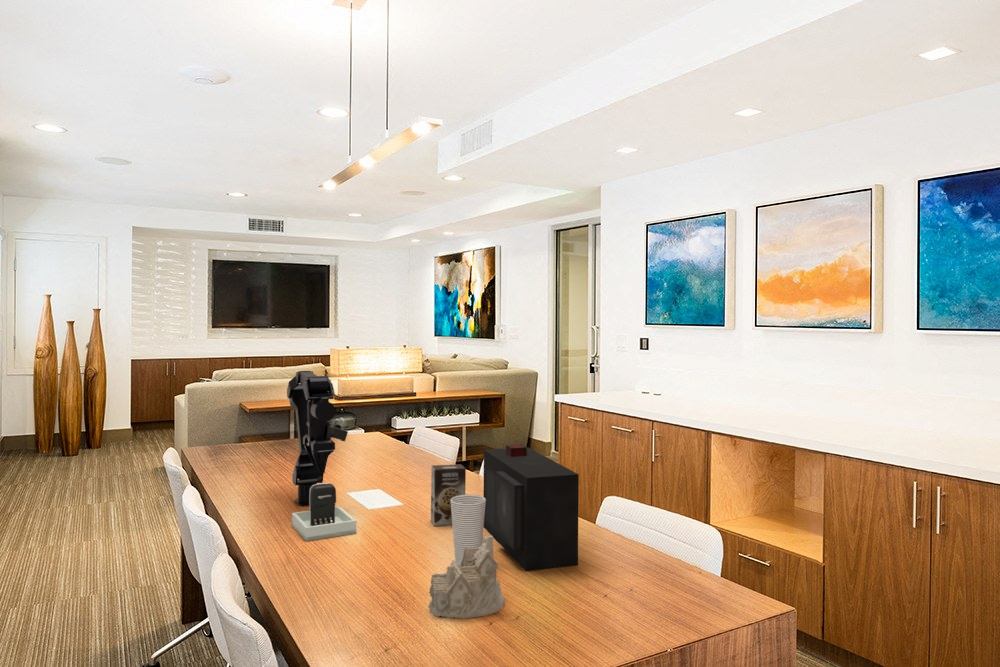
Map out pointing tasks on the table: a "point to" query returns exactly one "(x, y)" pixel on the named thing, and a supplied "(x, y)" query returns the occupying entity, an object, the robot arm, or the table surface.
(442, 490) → the coffee box
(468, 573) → the ceramic cottage
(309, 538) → the tray
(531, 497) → the speaker
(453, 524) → the cup
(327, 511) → the battery charger
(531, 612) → the table surface
